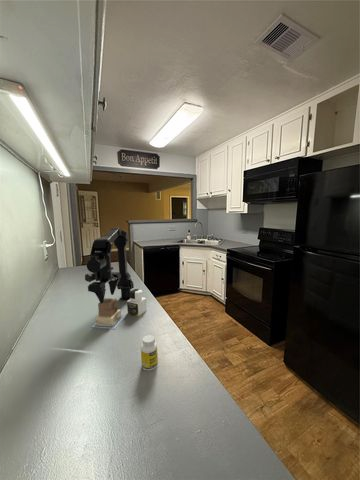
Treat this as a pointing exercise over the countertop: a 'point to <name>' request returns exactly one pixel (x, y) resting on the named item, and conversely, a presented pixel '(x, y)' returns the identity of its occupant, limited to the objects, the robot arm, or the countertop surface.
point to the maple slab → (108, 319)
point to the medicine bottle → (136, 303)
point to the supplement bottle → (149, 353)
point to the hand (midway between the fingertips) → (107, 298)
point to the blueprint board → (109, 326)
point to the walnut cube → (108, 307)
